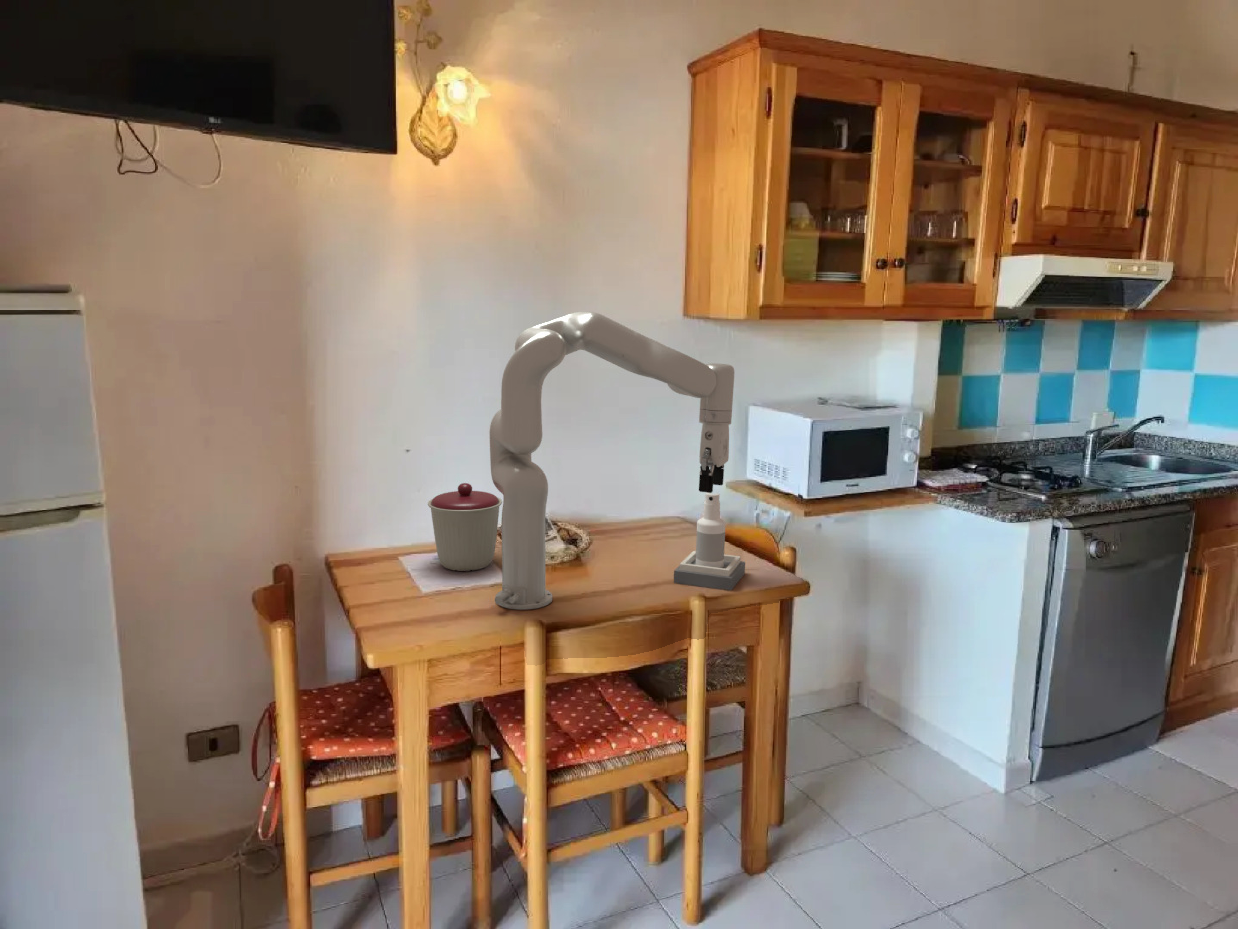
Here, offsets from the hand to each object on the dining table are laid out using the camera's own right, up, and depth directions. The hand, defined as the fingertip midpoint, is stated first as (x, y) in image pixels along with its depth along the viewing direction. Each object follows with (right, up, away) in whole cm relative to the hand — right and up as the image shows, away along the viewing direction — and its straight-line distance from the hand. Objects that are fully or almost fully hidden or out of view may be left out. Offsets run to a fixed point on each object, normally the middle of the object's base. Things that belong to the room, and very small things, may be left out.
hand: (711, 488), depth 202 cm
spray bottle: (0, -19, +4) cm, 20 cm away
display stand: (0, -22, +4) cm, 22 cm away
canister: (-60, -20, +11) cm, 64 cm away
